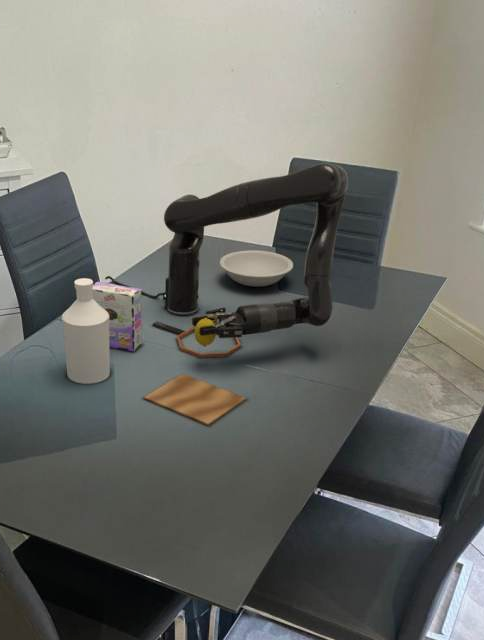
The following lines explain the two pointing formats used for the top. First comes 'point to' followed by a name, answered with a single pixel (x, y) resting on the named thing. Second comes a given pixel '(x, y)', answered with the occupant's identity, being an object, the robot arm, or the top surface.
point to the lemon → (204, 339)
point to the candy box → (121, 314)
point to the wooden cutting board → (195, 399)
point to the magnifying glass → (183, 333)
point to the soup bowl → (256, 267)
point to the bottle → (86, 337)
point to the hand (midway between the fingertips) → (196, 326)
